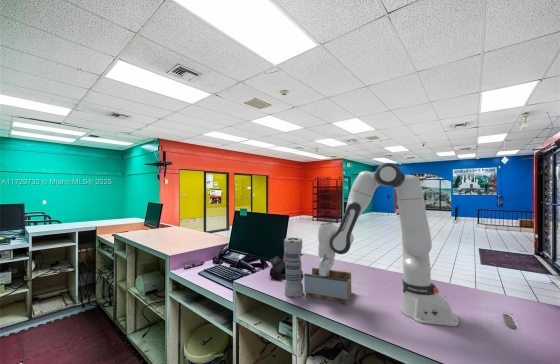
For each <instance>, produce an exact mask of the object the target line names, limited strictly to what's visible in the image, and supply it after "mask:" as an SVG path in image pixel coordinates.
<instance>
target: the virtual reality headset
mask: <svg viewBox="0 0 560 364" xmlns="http://www.w3.org/2000/svg"><path fill="white" fill-rule="evenodd" d="M269 263H270V264H271V265H272V266H271V268H270V269H269V276H270V278H272V279H276V280H278V281H280V280H284V281H286V266H285V261H283V260H282V259H281V258H280V257H279V256H278V255H277V256H274V257H273V258H271V259H269ZM301 279H302V280H303V279H304V273H303V270H302V271H301Z"/></svg>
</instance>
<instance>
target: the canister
mask: <svg viewBox="0 0 560 364" xmlns="http://www.w3.org/2000/svg"><path fill="white" fill-rule="evenodd" d="M283 248H284V250H285V251H284V252H285V254H284V255H285V261H284V262H285V266H286V274H285V276H286V280H285V283H284V294H285V295H286V296H287V297H289V298H298V297H299V296H300V297H301V296H303V295H304V294H303V293H304V283H303V281H302V280H303V278H302V279H301V271H302V272H303V270H302V260H301V256H302V249H303V239H302V238H301V237H293V236H292V237H285V238H284V239H283ZM300 297H299V298H300Z"/></svg>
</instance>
